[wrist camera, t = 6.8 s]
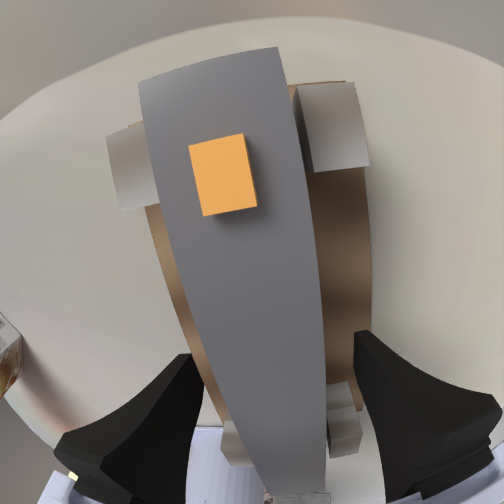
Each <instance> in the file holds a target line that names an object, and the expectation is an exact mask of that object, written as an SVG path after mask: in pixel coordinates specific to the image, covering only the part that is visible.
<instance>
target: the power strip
mask: <svg viewBox="0 0 504 504" xmlns="http://www.w3.org/2000/svg"><path fill="white" fill-rule="evenodd" d="M138 88H139V96H140V103H141V109H142V116H143V122H144V128H145V134H146V139H147V145H148V150H149V155H150V160H151V165H152V170H153V175H154V179H155V184H156V188H157V193H158V197H159V201H160V205H161V210H162V214H163V218H164V222H165V225H166V229H167V233H168V237H169V241H170V244H171V248H172V252H173V255H174V259H175V262H176V266H177V269H178V272H179V276H180V279H181V282H182V286H183V289H184V292H185V295H186V298H187V301H188V304H189V308H190V311H191V314H192V317H193V320H194V322H195V325H196V328H197V331H198V334H199V337H200V340H201V342H202V345H203V348H204V351H205V353H206V356H207V359H208V361H209V364H210V367H211V369H212V372H213V374H214V377H215V379H216V382H217V384H218V387H219V389H220V392H221V394H222V397H223V399H224V401H225V404H226V406H227V409H228V411H229V413H230V415H231V418H232V420H233V422H234V424H235V427H236V429H237V431H238V433H239V436H240V438H241V440H242V442H243V444H244V446H245V448H246V450H247V452H248V455H249V457H250V459H251V461H252V463H253V465H254V467H255V469H256V471H257V473H258V474H259V476H260V478H261V480H262V482H263V484H264V486H265V488H266V490H267V491H268V493H269V495H270V496H283V495H295V494H304V493H312V492H319V491H324V487H325V468H326V369H325V348H324V331H323V317H322V304H321V293H320V282H319V272H318V263H317V254H316V246H315V238H314V230H313V223H312V216H311V209H310V202H309V195H308V189H307V183H306V177H305V171H304V165H303V159H302V154H301V149H300V143H299V138H298V133H297V128H296V123H295V118H294V114H293V109H292V104H291V100H290V95H289V91H288V87H287V83H286V79H285V74H284V70H283V66H282V63H281V59H280V55H279V51H278V47H272V48H265V49H258V50H252V51H246V52H241V53H236V54H231V55H226V56H222V57H218V58H213V59H209V60H206V61H202V62H198V63H195V64H191V65H188V66H184V67H181V68H178V69H175V70H172V71H169V72H166V73H163V74H160V75H157V76H154V77H152V78H149V79H147V80H144V81H141V82H139V83H138Z"/></svg>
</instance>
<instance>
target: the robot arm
mask: <svg viewBox="0 0 504 504" xmlns="http://www.w3.org/2000/svg"><path fill="white" fill-rule="evenodd" d="M353 368H354V372H355V376H356V380H357V384H358V387H359V389H360V392H361V394H362V397H363V400H364V402H365V405H366V407H367V410H368V412H369V415H370V418H371V420H372V423H373V426H374V430H375V434H376V438H377V442H378V447H379V452H380V458H381V463H382V470H383V476H384V485H385V495H386V504H499V503H501V502H502V501H503V500H504V441H502V442H501V443H499V444H498V445H497V446H496V447H494V448H493V449H492V450H490V448H489V445H490V444H491V440H490V438H489V437H488V436H489V434H490V433H491V432H492V430H493V429H494V428H495V426H496V425H497V424H498V422H499V420H500V419H501V416H502V413H503V411H502V409H501V407H500V406H499V404H498V403H497V401H496V400H495V398H494V397H493V396H492V395H491V394H486V393H480V392H475V391H471V390H467V389H464V388H460V387H457V386H454V385H451V384H449V383H446V382H444V381H441V380H439V379H437V378H435V377H433V376H431V375H429V374H427V373H425V372H423V371H421V370H420V369H418V368H416V367H415V366H413V365H412V364H410V363H409V362H407V361H406V360H404V359H403V358H402V357H400V356H399V355H398V354H396V353H395V352H394V351H392V350H391V349H390V348H389V347H387V346H386V345H385V344H384V343H383V342H382V341H380V340H379V339H378V338H377V337H376V336H375V335H373V334H372V333H371V332H370V331H369V330H367V329H366V330H362V331H357V332H354V352H353ZM203 392H204V382H203V380H202V378H201V375H200V373H199V371H198V368H197V366H196V363H195V361H194V358H193V356H192V353H190V354H179V355H178V356H177V357H176V358H175V359H174V360H173V361H172V362H171V363H170V364H169V365H168V366H167V367H166V368H165V369H164V370H163V371H162V372H161V373H160V374H159V375H158V376H157V377H156V378H155V379H154V380H153V381H152V382H151V383H150V384H149V385H147V386H146V387H145V388H144V389H143V390H142V391H141V392H140V393H139V394H137V395H136V396H135V397H134V398H133V399H131V400H130V401H129V402H127V403H126V404H124V405H123V406H122V407H120V408H119V409H117V410H115V411H114V412H112V413H110V414H109V415H107V416H105V417H103V418H102V419H100V420H98V421H96V422H93V423H91V424H89V425H86V426H84V427H81V428H78V429H75V430H72V431H69V432H66V433H64V434H63V436H62V437H61V439H60V441H59V442H58V444H57V446H56V448H55V449H54V451H53V452H54V455H55V457H56V458H57V459H58V460H59V461H60V462H61V463H62V464H63V465H65V466H66V467H67V468H68V469H69V470H70V471H71V472H73V473H74V474H75V475H76V476H78V478H77V481H75V480H74V479H72V478H70V477H68V476H66V475H64V474H62V473H60V472H58V471H56V470H55V471H54V472H53V474H52V476H51V478H50V480H49V481H48V483H47V485H46V487H45V490H44V491H43V493H42V496H41V497H40V499H39V501H38V504H263V502H264V484H263V482H262V480H261V478H260V476H259V474H258V473H257V471H256V469H255V467H231V465H230V464H229V462H228V461H227V459H226V458H225V456H224V455H223V453H222V451H221V450H220V446H221V440H222V434H223V428H224V427H196V423H197V420H198V416H199V413H200V409H201V405H202V400H203ZM190 446H192V451H191V455H190V459H189V452H190ZM188 460H189V463H188Z"/></svg>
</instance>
